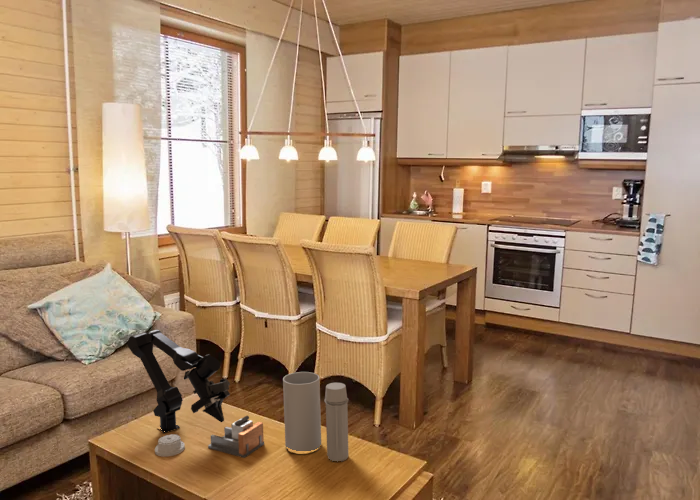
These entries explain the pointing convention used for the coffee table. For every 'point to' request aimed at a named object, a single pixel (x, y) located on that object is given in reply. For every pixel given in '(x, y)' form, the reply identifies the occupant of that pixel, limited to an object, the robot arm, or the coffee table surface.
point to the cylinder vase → (302, 411)
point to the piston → (240, 426)
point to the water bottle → (336, 421)
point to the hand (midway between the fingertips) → (222, 421)
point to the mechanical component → (169, 445)
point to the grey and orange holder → (245, 445)
